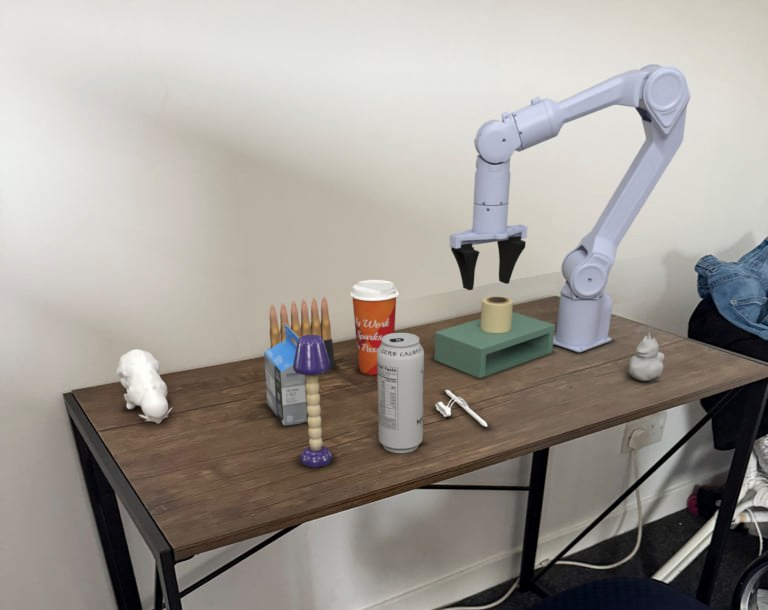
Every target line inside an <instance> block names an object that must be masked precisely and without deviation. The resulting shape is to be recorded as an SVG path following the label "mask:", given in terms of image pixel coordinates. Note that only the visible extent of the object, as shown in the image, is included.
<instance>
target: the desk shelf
mask: <svg viewBox="0 0 768 610" xmlns="http://www.w3.org/2000/svg"><path fill="white" fill-rule="evenodd" d="M480 326H481V318H477V319H475V320H471V321H468V322H465V323H461V324H458V325H454V326H451V327H447V328H444V329H440V330H437V331H435V332H434V355H433V359H434V361H436V362H438V363H441V364H443V365H445V366H448V367H450V368H453V369H455V370H458V371H460V372H463V373H466V374H467V375H470V376H473V377H475V378H478V379H482V378H486V377H488V376H491V375H493V374H496V373H499V372H502V371H505V370H508V369H510V368H514V367H516V366H518V365H522V364H525V363H527V362H530V361H533V360H535V359H538V358H541V357H544V356H547V355H549V354H552V353H553V350H554V349H553V347H554V344H553V340H554V336H555V329H556V324H553V323H550V322H548V321H543V320H541V319H537V318H534V317H531V316H528V315H524V314H522V313H518V312H515V311H512V324H511V330H510V331H508V332H505V333H489V332H485V331H483V330H481V328H480Z"/></svg>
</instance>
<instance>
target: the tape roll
mask: <svg viewBox="0 0 768 610" xmlns="http://www.w3.org/2000/svg"><path fill="white" fill-rule="evenodd" d="M513 309H514V300H513V299H512V298H511V297H508V296H503V295H490V296H486V297H484V298H482V300H481V309H480V319H481V326H480V328H481V330H483V331H485V332H489V333H505V332H508V331H510V330H511V324H512V312H514V311H513Z"/></svg>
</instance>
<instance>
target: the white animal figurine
mask: <svg viewBox="0 0 768 610" xmlns="http://www.w3.org/2000/svg"><path fill="white" fill-rule="evenodd" d="M160 366H161V364H160V362H159V361H158V360H157V359H156V358H155V357H154V355H153V354H152V353H150V352H148V351H146V350H143V349H137V348H135V349H131V350H130V351H128V352H126V353H124V354H123V355H121V357H120V358H119V363H118V367H117V368H116V375H117V377H118V379H119V382H120V384H121V386H122V387H124V388H125V389H126V393H124V394H123V398H124V400H125V401H126V406H125V407H126V408H127V409H128V410H133V409H135V408H136V407H140V408H141V410H142V413H143V414H138V416H139V417H140V418H142V419H145V422H152V423H155V424H158V425H159V424H161V423H162V422H163V420H164V419H166V418H168V417H169V413H170V412H171V411H172V409H173V407H171V408H169V403H168V400H167V396H168V386H167V384H166V382H165V381H163V379H162V377H161V375H160V374H159V372H160V368H161V367H160Z"/></svg>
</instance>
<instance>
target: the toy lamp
mask: <svg viewBox="0 0 768 610" xmlns="http://www.w3.org/2000/svg"><path fill="white" fill-rule="evenodd" d="M330 368H331V364H330V360H329V357H328V354H327V350H326V347H325V344H324V341H323V339H322V337H321V336H318V335H304V336H301V337H300V338H299V339H298V342H297V348H296V353H295V358H294V363H293V369H294V371H295V372H297V373H299V374H302V375H305V389H306V407H307V426H308V430H307V431H308V432H307V434H308V437H309V440H308V447H306V448H305V449H304V450H303V451H302V453H301V455H300V464H301V465H303V466H304V467H308V468H322V467H325V466H327V465H330V464H331V463H332V462H333V455H332V452H331V451H330V449H328V447H326V446H324V445H323V443H324V442H323V438H322V436H323V429H322V416H321V411H322V409H321V405H320V402H321V395H320V393H319V391H320V382H319V378H320V375H323V374H325V373H328V372H329V371H330V370H331V369H330Z"/></svg>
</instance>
